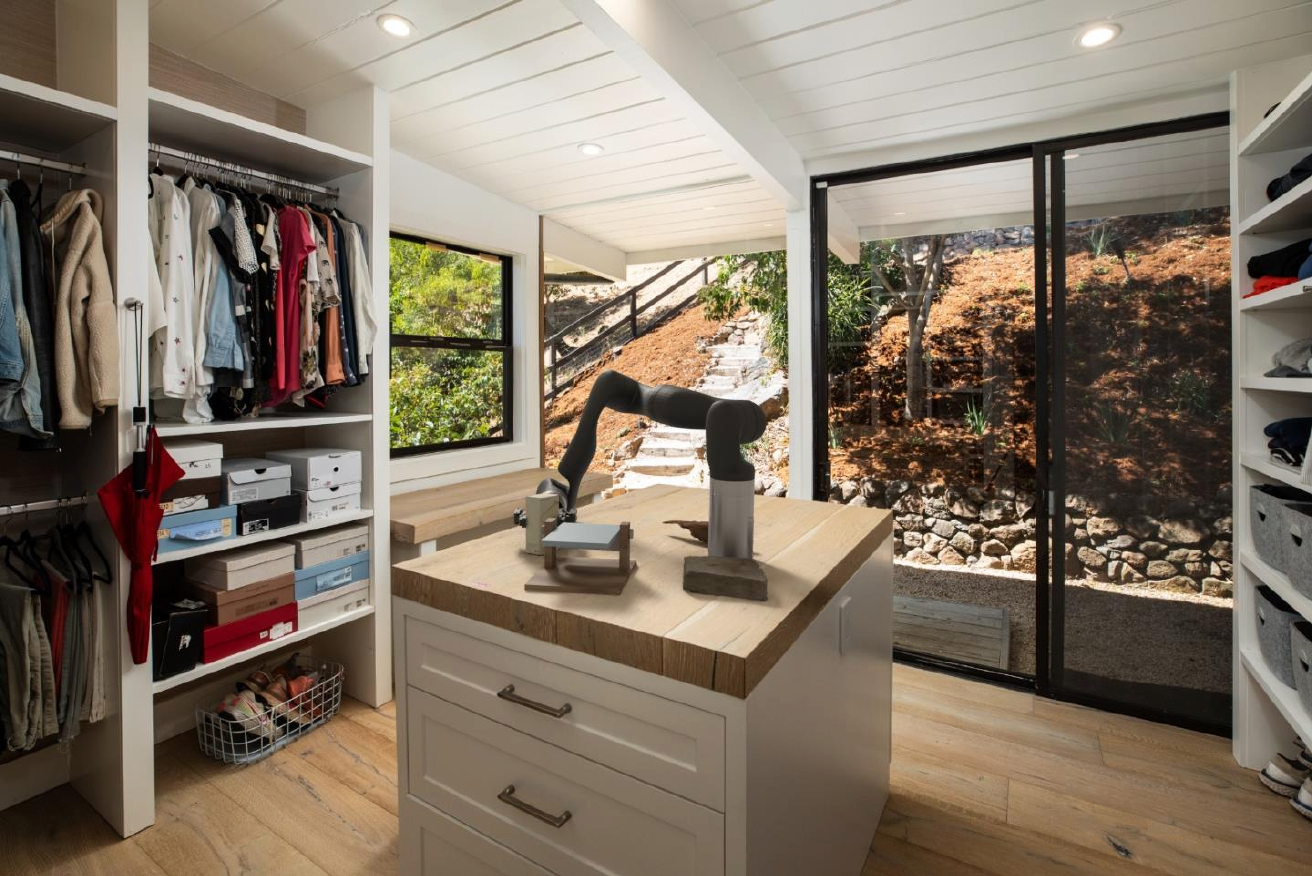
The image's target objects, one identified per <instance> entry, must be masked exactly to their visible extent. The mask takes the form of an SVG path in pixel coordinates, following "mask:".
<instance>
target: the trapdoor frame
mask: <svg viewBox="0 0 1312 876" xmlns="http://www.w3.org/2000/svg"><path fill="white" fill-rule="evenodd" d="M619 525H620V544H619V551H618V552H619V554H618V557H619V558H618V559H616V558H615V559H613V558H598V557H597V558H594V557H579V556H578V557H577V556H559V555H558V556H557V550H556V547H555V546H544V554H543V566H542V567H541V568H540V569H539V570H538V571H537V572H536V573H534V574H533V576H531V577H530V578H529V579H528V580H527V581H526V582H525V583H524V586H523V587H524V588H523V589H524V591H538V592H539V591H540V592H556V593H573V594H574V593H575V594H589V595H590V594H591V595H592V594H593V595H606V596H607V595H610V596H621V594H622V592H623V590H624V588H625V587H626V585H627V583H628V581H629V580H630V578H631V576H632V575H633V572H634V570H635V569H636V568H637V565H638V564H637V562H638V561H637V560H636V559H635V560H634V559H631V558H630V557H631V554H630V553H631V540H633V539H634V536H635V535H634V533H635V531H634V530H635V529H634V528H632V529H631V521H626V520H625V521H624V520H623V521H621V523H619ZM555 529H556V518H548V519H547V520H546V521H544V525H542V528H541V534H542V535H544V538H545V537H546V536H547V535H549V534H550V533H551V532H552V531H554V530H555Z"/></svg>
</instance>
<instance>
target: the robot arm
mask: <svg viewBox="0 0 1312 876" xmlns="http://www.w3.org/2000/svg"><path fill="white" fill-rule="evenodd" d="M589 392H590V393H589V395H588V396H587V400H586V403H585V405H584V408H583V411H582V413H581V416H580V419H579V421H578V425H577V427H576V430H575V433H574V435H573V437H572V440H571V441H570V443H569V445H568V447H567V449H566V450H565V452H564V454H563V455H562V457H561V459H560V461H559V464H557V471H558V473H559V475H561V476H562V477H563V478H564V479H566V481H567V482H568V485H569V486H568V485H566V484H564V483H562V482H560V481H558V480H556V479H554V478H552V477H547V478H544V479H543V480H542V481H540V483H539V484H538V486H537V487H536V490H535V495H536V494H542V493H548V494H557V495H559V516H558V518H557V527H559V526H560V525H561V524H562V523H563V522H564V523H577V520H578V508H575V505H576V503H577V500H578V499H577V498H578V494H579V489H580V487H581V486H580V485H581V483H582V481H583V478H584V475H585V474H586V473H587V470H588V468H589V467H590V465H591V464H592V461H593V460H594V457H595V456H596V455H595V454H596V452H597V440H598V439H597V436H598V435H597V434H598V433H597V428H598V421H599V418H600V416H601V414H602V412H603V410H605V408H606V409H610V410H611V411H612V410H613V411H615V412H617V413H621V414H629V415H638V416H644V417H647V418H648V419H649V420H650V421H653V422H655V423H658V424H661V425H665V426H668V427H672V428H677V429H683V430H684V429H685V430H701V431H705V449H706V450H705V451H706V456H705V457H706V463H707V466H708V469H709V486H708V487H709V492H708V494H709V498H708V521H709V527H708V543H707V556H718V557H731V558H732V557H734V558H741V559H744V558H747V559H753V560H754V542H753V540H754V533H755V532H754V529H755V484H756V483H755V482H756V479H755V478H756V469H755V468H756V467H755V465H754V464H753V463H751V462H748V461H747V460H745V459H743V457H742V453H741V445H747V444H751V443H754V442H756V441H759V439H760V438H761V437H763V435H764V434H765V432H766V429H767V423H768V422H767V415H766V414H765V412H764V410H763V409H762V408H761V407H760V405H759V404H757V403H756V402H754V401H752V400H749V399H732V398H731V399H730V398H721V397H716V396H712V395H710V394H707V393H703V392H701V391H697V390H694V389H690V388H686V387H682V386H677V385H672V384H663V383H662V384H659V385H656V386H650V385H647V384H644V383H642V382H639V381H637V380H636V379H634V378H632V377H629V376H628V375H626V374H624V373H621V372H619V371H617V370H614V369H605V370H602V372H601V373H600V374H598V376H597V378H596V379H595V381H594V383H593V385H592V387H591V390H590V391H589ZM513 525H515V526H516V525H519V527H521V529H526V511H524V509H522V508H520V507H517V508H515V509H514V512H513Z"/></svg>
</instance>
